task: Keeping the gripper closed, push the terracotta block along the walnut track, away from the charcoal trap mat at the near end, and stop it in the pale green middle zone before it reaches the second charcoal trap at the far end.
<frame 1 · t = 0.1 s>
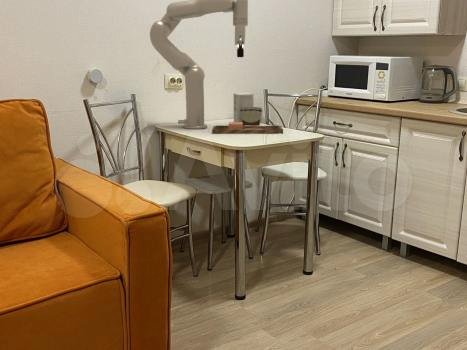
hand: (240, 57, 266), 37 cm above the table, tool pointing down, fingers open, 9 cm apart
supplement box: (243, 123, 290), on the table
track: (247, 131, 261), on the table
food container: (251, 126, 281), on the table
block: (235, 132, 261), resting on track
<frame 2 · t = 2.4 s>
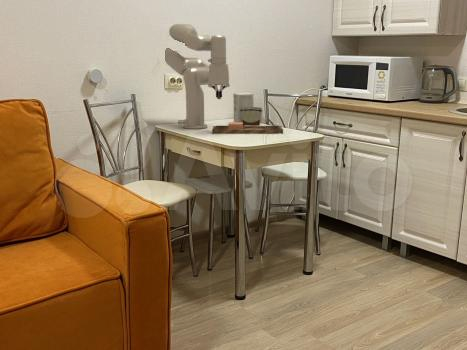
hand: (219, 98, 257), 16 cm above the table, tool pointing down, fingers closed
nothing on the table moved.
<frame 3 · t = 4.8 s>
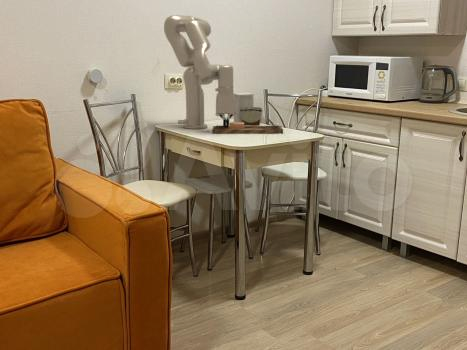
hand: (226, 127, 261), 2 cm above the table, tool pointing down, fingers closed
nothing on the table moved.
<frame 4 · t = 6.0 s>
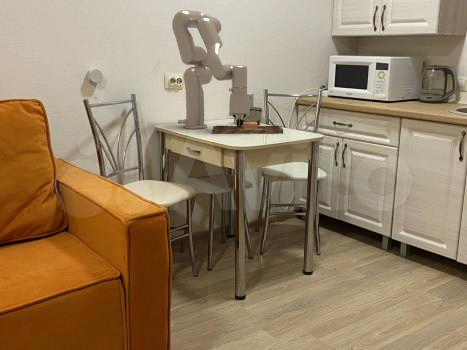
hand: (239, 127, 261), 2 cm above the table, tool pointing down, fingers closed
block: (250, 131, 262), resting on track, touching gripper
everything else where it was.
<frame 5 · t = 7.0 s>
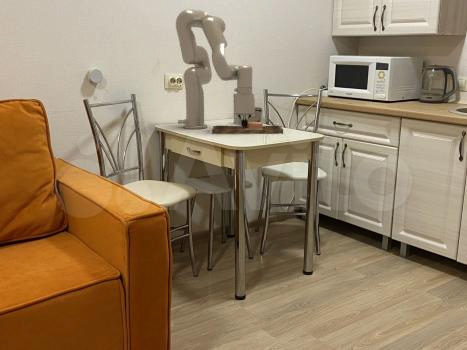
hand: (244, 127, 261), 2 cm above the table, tool pointing down, fingers closed
block: (255, 131, 262), resting on track
everything else where it was.
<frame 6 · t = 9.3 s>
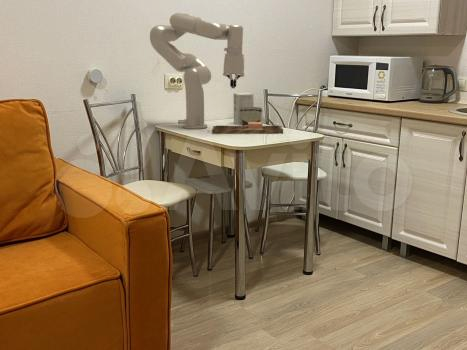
hand: (233, 88, 260), 22 cm above the table, tool pointing down, fingers closed
nothing on the table moved.
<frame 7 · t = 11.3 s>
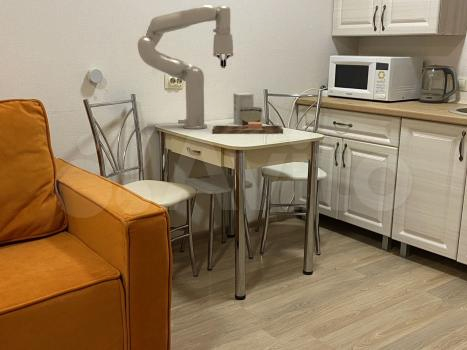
hand: (223, 67, 269), 31 cm above the table, tool pointing down, fingers closed
nothing on the table moved.
at the end: block 1.9 cm from the target spot, resting on track; block tilted 0°; block moved 10.0 cm from its start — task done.
